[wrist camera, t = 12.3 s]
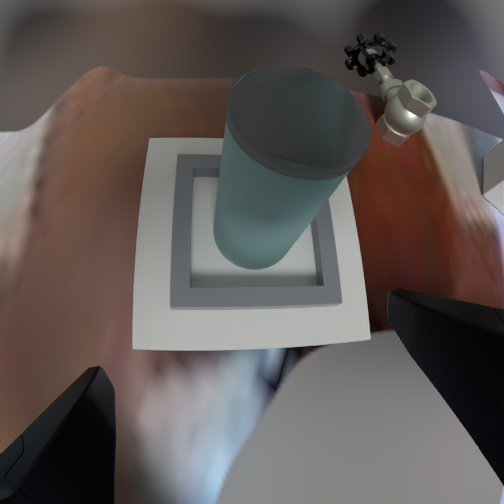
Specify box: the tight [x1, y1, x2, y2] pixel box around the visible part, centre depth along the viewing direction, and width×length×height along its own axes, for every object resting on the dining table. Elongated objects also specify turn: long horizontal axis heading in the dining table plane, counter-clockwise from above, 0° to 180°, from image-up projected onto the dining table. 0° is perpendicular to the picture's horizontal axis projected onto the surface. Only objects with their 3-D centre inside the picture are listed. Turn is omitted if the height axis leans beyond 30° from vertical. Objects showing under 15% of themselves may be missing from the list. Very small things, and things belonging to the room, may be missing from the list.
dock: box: [133, 138, 371, 351], centre depth 22 cm, size 16×16×2 cm
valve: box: [344, 33, 437, 147], centre depth 28 cm, size 7×7×12 cm
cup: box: [213, 65, 371, 270], centre depth 17 cm, size 6×6×12 cm
